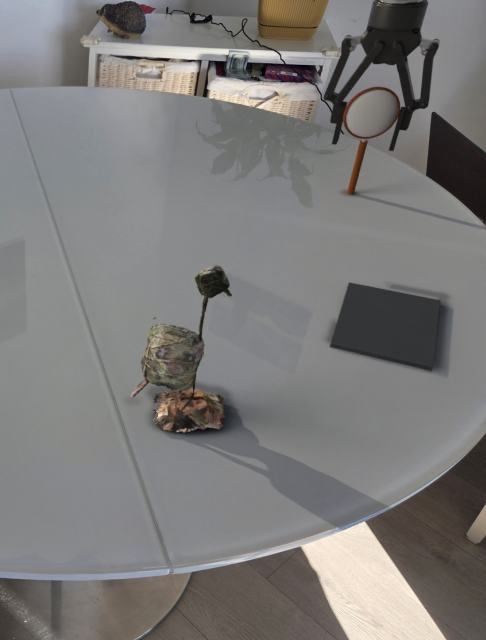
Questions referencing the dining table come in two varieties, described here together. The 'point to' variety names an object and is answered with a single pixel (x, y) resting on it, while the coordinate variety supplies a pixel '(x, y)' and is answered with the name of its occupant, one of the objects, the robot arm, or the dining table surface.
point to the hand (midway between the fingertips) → (363, 144)
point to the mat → (388, 325)
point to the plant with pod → (183, 366)
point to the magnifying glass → (369, 121)
